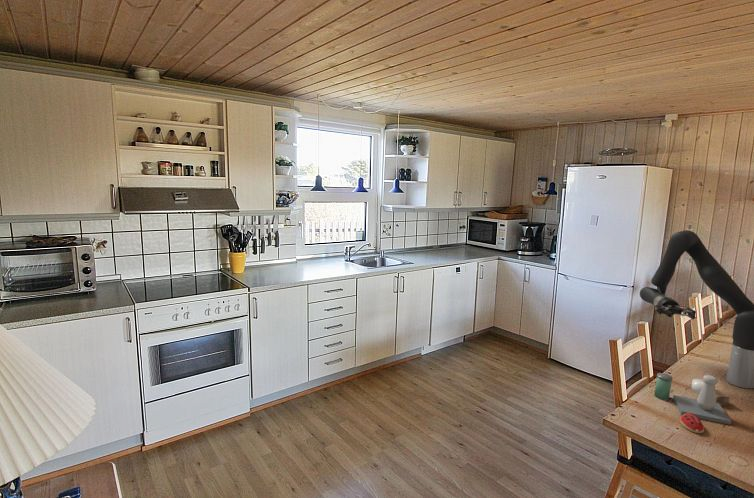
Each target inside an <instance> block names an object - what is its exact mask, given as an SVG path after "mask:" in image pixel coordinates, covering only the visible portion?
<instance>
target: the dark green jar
mask: <svg viewBox="0 0 754 498" xmlns="http://www.w3.org/2000/svg"><path fill="white" fill-rule="evenodd" d="M672 381H673V376H672V375H671V374H668V373H664V372H658V373H657V374H656V381H655V389H654V394H653V395H654V397H655V398H657V399H660V400H661V401H668V400H669V399H670V396H671V395H670V394H671V388H672V383H673V382H672Z"/></svg>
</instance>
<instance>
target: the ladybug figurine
mask: <svg viewBox="0 0 754 498" xmlns="http://www.w3.org/2000/svg"><path fill="white" fill-rule="evenodd" d="M679 422H680V424H681V426H683V427H684V428H685V429H686V430H688V431H690V432H692V433H695V434H702V433H704V431H705V427H704V423H703V422H702V420H701V419H699V418H697V417H696V416H694V415H692V414H689V413H687V414H684V415H681V416H680V418H679Z"/></svg>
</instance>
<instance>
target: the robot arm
mask: <svg viewBox="0 0 754 498" xmlns="http://www.w3.org/2000/svg"><path fill="white" fill-rule="evenodd" d="M684 253H687V255H689V256H690V257H691V259H692V261H693V262H694V264H695V267H696V270H697V272H698V275H699V277H700V279H701V280H702V281H703V282H704V283H705V285H706V287H708V288H709V289H710V291H712V292H713V294H715V295H716V296H717V297H719V298H720V299H721V300H722V301H723V300H724V302H726V304H728V305H729V306H730V307H731V309H732V310H733V311H734V312H735V314H736V317H735V318H734V322H733V323H734V324H733V328H732V336H731V337H732V345H731V348H730V350H731V351H730V354H729V355H730V357H729V361H728V367H727V370H726V372H727V373H726V378H725V381H726V382H727V383H729V384H730V385H733V386H736V387H739V388H743V389H754V303H753V302H752V301H751V300H750V299H749V297H748V296H747V295H746V294H745V293H744V291H743V290H742V289H741V288H740V286H739V285H738V284H737V283H736V282H735V280H734V279H733V278H732V277H731V275H730V274H729V273H728V272H727V270H726V269H725V268H724V267H723V266H722V265H721V264H720V263H719V262H718V261H717V259H716V258H715V257H714V256H713V255H712V254H711V253H710V251H709V250H708V249H707V247H706V246H705V245H704V243H703V242H702V239H701V238H700V237H699V236H698V234H697V233H695V232H694V231H692V230H687V229H686V230H680V231H677V232H674V233H673V234H672V235H671V236H670V238H669V240H668V243H667V246H666V250H665V253H664V254H663V257H662V259H661V262H660V264H659V266H658V268H657V270H656V271H655V273H654V275H653V276H652V278H651V284H652V285H653V286H655V287H657V288H654V287H649V286H645V287H644V286H643V287H642V288H641V289H640V291H639V297H640V299H641V300H643V301H644V302H647V303H649V304H651V305H652V306H654V311H655V312H656V313H657V314H658V315H662V314H663V315H664V316H667V317H668V318H673V317H672V316H677V315H678V316H681V317H688V318H690V319H691V320H695V319H696V313H697V311H696V310H694V309H693V308H691V307H690V306H689V307H682V306H680V303H678V302H677V301H676V300H675V299H673V298H672V297H670V296H668V295H666V292H667V289H668V286H669V283H670V282H671V281H672V279H673V277H674V274H675V272H676V268H677V264H678V262H679V260H680V258H682V255H684Z"/></svg>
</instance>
